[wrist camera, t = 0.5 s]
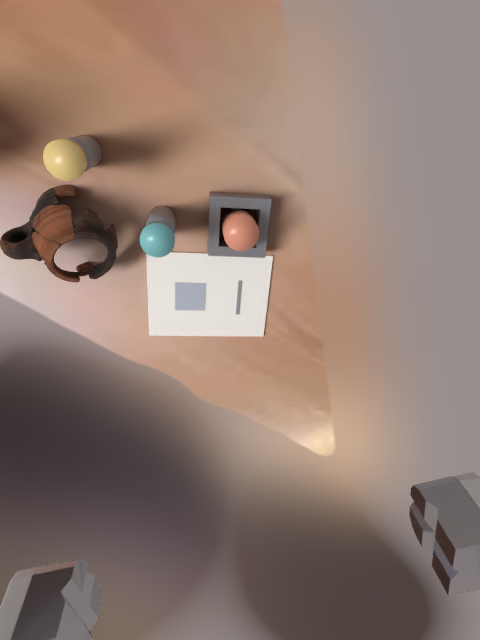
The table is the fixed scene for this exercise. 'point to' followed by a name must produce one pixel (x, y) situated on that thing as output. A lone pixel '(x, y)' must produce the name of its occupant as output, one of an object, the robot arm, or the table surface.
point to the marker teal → (159, 232)
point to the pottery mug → (59, 235)
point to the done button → (240, 230)
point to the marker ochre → (71, 156)
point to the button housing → (244, 202)
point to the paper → (207, 294)
